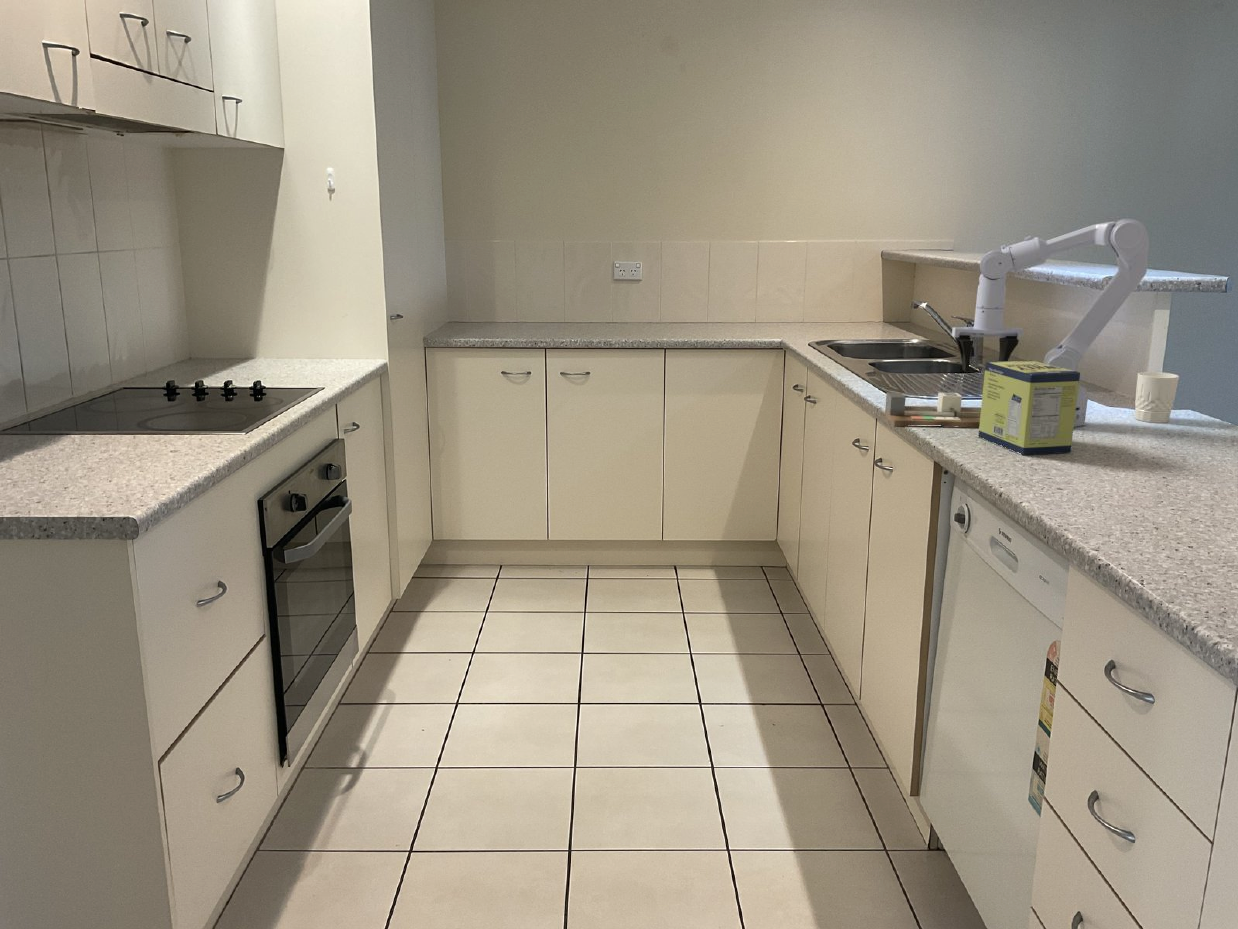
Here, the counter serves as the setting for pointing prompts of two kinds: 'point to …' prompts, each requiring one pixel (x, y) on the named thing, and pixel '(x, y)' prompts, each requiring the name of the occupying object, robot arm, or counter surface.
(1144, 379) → the white cup
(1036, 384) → the protein box
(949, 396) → the gauge carriage
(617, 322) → the counter surface
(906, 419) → the gauge bed
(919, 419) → the gauge scale
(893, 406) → the anvil and rails
